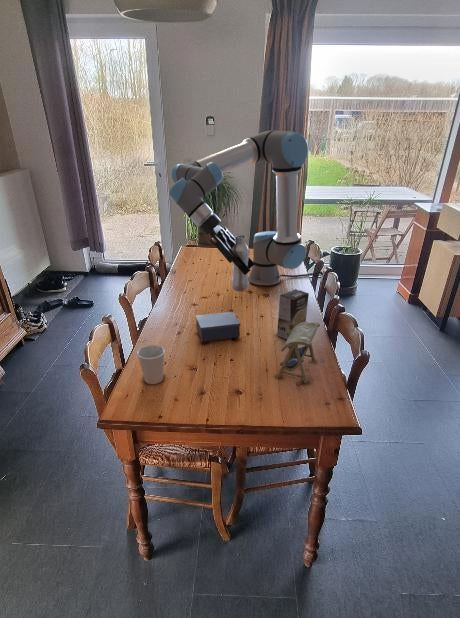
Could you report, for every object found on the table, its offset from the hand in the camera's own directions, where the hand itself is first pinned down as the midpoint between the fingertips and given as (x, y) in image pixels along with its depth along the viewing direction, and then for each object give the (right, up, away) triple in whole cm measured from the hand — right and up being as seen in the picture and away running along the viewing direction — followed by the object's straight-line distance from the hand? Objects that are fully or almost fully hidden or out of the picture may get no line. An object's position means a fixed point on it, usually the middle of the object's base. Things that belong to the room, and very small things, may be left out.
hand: (249, 269), depth 157 cm
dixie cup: (-31, -39, -20) cm, 54 cm away
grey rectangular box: (-12, -24, +4) cm, 27 cm away
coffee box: (+16, -23, +6) cm, 29 cm away
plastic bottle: (-4, -7, +5) cm, 9 cm away
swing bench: (+15, -36, -15) cm, 42 cm away
